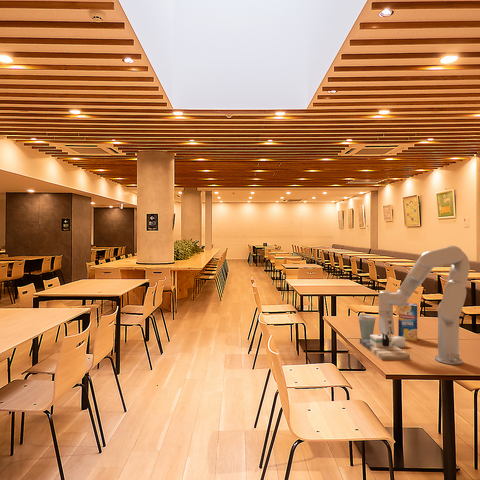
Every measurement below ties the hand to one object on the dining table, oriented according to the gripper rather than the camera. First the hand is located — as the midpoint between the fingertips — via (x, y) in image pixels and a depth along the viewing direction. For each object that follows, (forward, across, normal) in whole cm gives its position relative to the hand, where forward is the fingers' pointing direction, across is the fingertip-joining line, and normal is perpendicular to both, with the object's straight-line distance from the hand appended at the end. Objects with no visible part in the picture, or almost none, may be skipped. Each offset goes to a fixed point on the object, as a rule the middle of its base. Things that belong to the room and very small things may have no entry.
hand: (385, 345), depth 207 cm
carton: (+1, +6, 0) cm, 7 cm away
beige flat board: (+4, +4, 0) cm, 6 cm away
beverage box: (+4, +28, -27) cm, 39 cm away
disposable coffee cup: (+4, +29, -1) cm, 29 cm away
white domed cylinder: (+4, +13, -14) cm, 19 cm away
